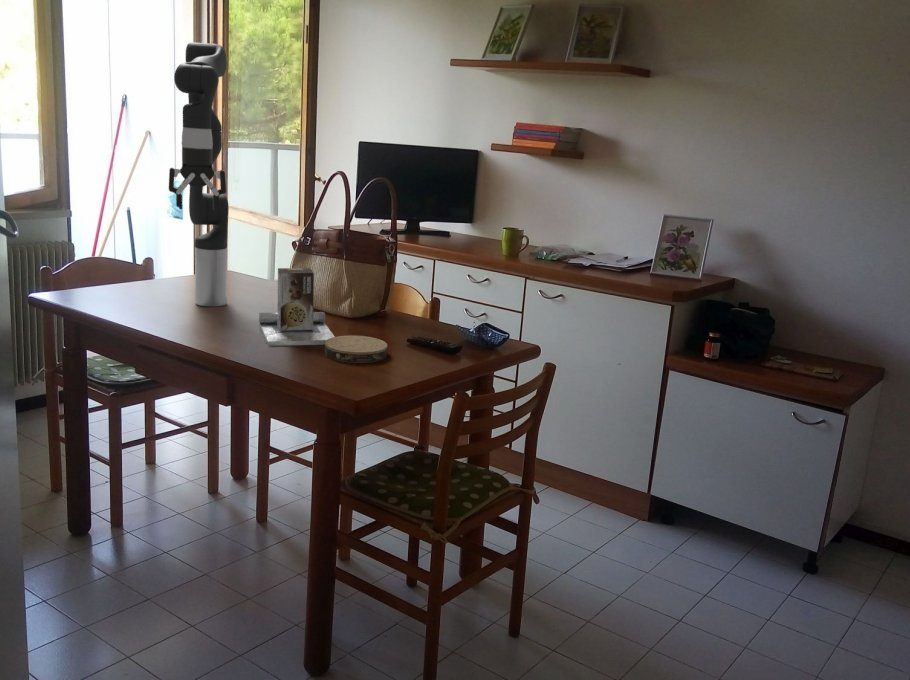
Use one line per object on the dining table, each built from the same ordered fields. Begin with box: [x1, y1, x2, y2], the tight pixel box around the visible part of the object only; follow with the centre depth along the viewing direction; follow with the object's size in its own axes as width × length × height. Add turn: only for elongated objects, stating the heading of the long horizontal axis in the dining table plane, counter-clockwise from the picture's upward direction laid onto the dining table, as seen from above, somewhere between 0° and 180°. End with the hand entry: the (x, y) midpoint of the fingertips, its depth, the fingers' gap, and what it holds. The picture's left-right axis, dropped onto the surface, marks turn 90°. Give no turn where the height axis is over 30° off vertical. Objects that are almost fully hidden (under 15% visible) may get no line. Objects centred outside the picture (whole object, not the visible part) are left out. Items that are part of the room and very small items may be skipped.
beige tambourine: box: [324, 335, 388, 364], centre depth 213 cm, size 16×16×3 cm
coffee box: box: [277, 267, 315, 331], centre depth 226 cm, size 9×6×16 cm
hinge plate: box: [258, 311, 336, 347], centre depth 226 cm, size 20×18×4 cm
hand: (197, 209), depth 219 cm, fingers open, 8 cm apart
